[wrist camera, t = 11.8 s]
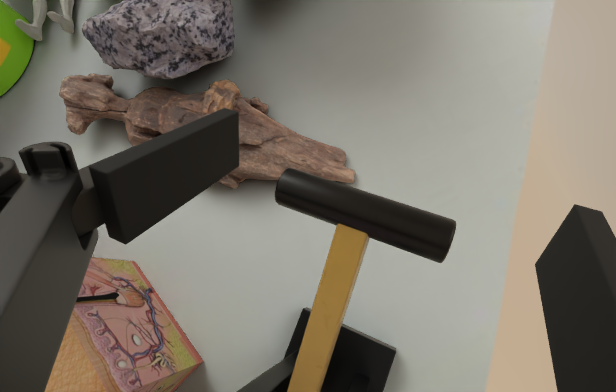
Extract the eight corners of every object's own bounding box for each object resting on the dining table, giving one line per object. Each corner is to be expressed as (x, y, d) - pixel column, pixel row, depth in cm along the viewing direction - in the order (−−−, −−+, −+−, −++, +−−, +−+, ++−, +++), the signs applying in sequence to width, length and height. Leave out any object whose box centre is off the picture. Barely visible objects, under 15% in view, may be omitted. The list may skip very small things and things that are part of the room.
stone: (170, 28, 38) (96, 75, 34) (141, -43, 32) (48, 2, 28) (259, 60, 33) (186, 120, 29) (243, -17, 28) (150, 42, 23)
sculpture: (339, 225, 27) (331, 214, 23) (74, 136, 36) (36, 118, 32) (376, 120, 28) (374, 93, 24) (114, 60, 37) (82, 34, 33)
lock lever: (300, 166, 13) (274, 167, 11) (454, 215, 12) (459, 228, 9) (229, 432, 16) (196, 475, 14) (347, 506, 14) (331, 571, 12)
